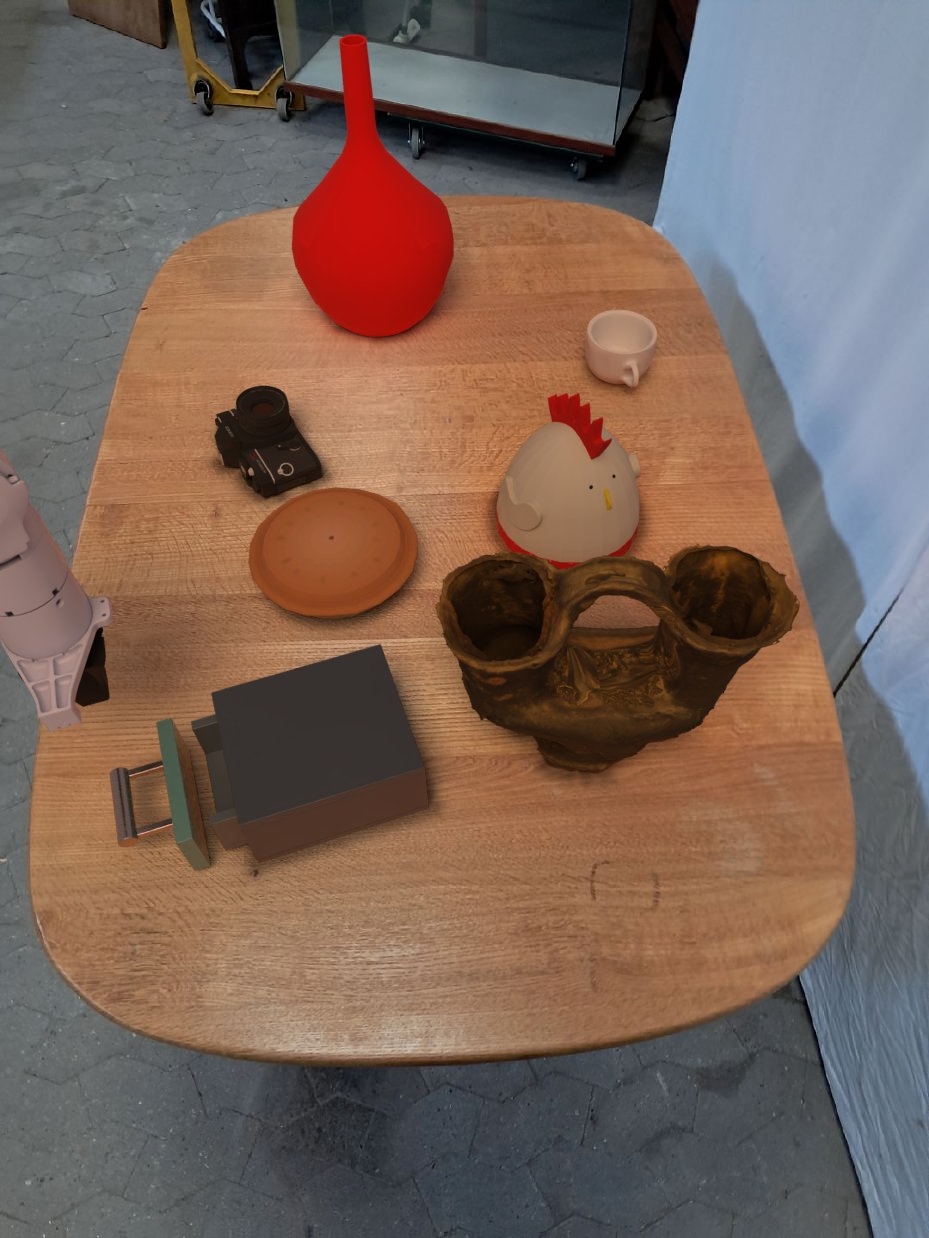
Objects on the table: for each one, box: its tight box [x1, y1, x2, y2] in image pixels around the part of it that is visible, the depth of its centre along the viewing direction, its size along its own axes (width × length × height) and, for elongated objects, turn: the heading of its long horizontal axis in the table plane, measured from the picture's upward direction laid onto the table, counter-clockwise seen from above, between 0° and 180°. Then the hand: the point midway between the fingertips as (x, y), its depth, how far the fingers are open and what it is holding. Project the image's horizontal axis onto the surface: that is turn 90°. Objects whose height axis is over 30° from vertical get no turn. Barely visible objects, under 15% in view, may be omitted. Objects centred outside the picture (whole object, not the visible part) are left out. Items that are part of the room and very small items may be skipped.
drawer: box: [109, 713, 249, 872], centre depth 69 cm, size 17×10×5 cm, turn 109°
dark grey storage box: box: [210, 643, 430, 864], centre depth 71 cm, size 14×12×7 cm
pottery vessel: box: [434, 543, 800, 774], centre depth 68 cm, size 25×11×20 cm, turn 92°
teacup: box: [584, 309, 658, 388], centre depth 100 cm, size 10×8×5 cm
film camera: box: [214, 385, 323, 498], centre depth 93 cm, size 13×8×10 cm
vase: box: [291, 34, 455, 338], centre depth 98 cm, size 18×18×30 cm
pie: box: [248, 486, 419, 620], centre depth 84 cm, size 15×16×5 cm
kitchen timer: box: [495, 392, 642, 570], centre depth 83 cm, size 14×14×15 cm
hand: (95, 695), depth 67 cm, fingers closed
